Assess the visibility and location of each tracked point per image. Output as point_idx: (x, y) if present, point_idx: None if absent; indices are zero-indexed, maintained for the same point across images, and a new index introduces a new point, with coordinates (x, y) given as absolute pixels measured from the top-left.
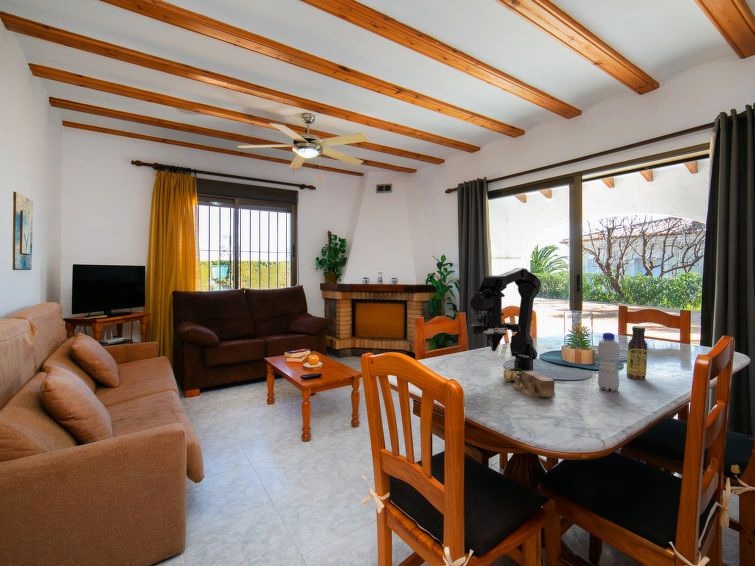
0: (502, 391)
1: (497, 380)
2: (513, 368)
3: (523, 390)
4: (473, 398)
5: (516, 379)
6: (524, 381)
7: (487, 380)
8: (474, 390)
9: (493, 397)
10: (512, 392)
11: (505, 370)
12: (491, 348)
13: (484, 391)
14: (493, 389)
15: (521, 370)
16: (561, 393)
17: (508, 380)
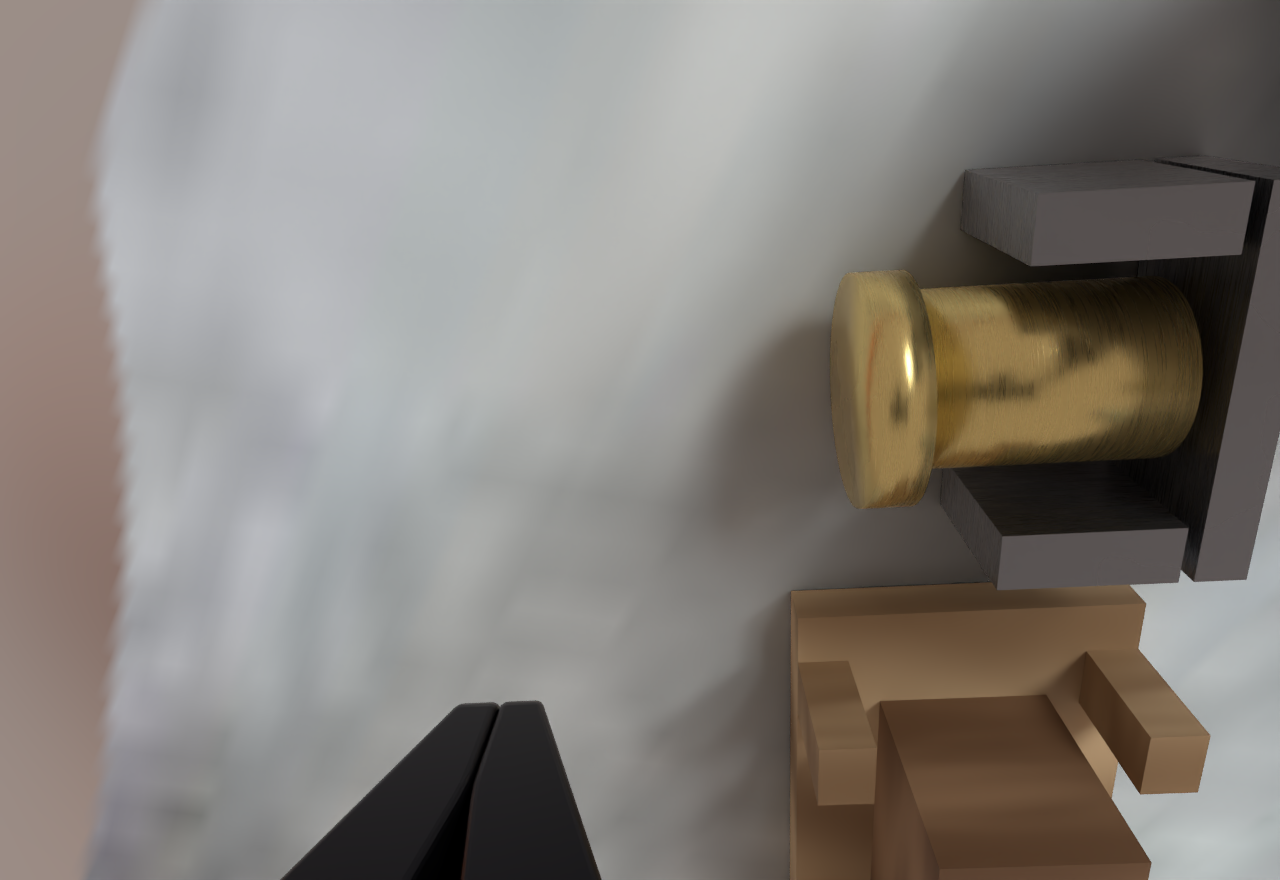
0: None
1: (711, 260)
2: (1176, 203)
3: (792, 811)
4: (117, 859)
5: (810, 748)
6: (893, 797)
7: (534, 230)
8: (185, 638)
9: None
10: (655, 769)
11: (870, 380)
12: (415, 770)
13: (310, 690)
14: (459, 642)
15: (1233, 372)
16: (1211, 876)
17: (835, 422)
